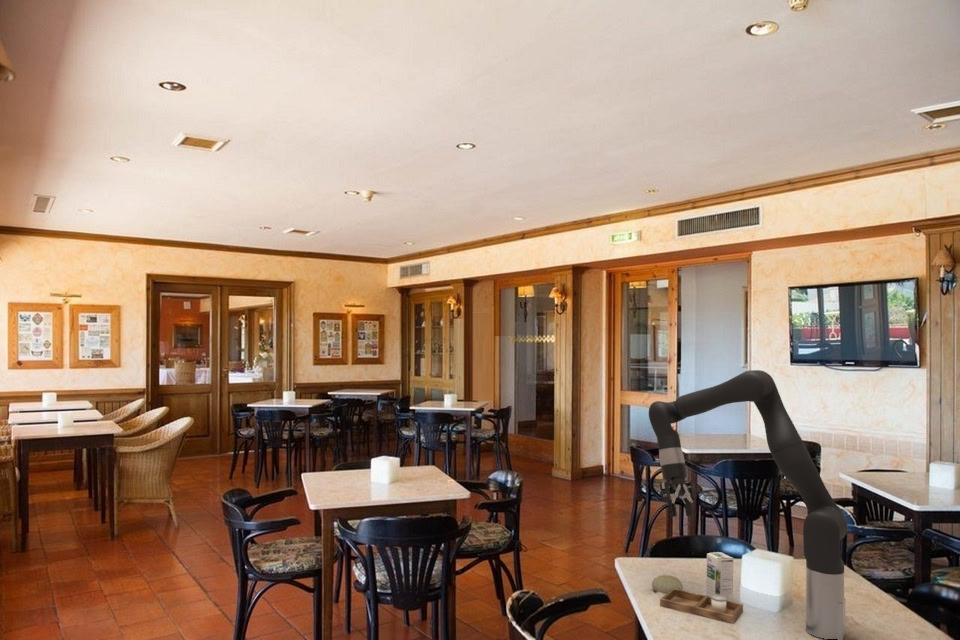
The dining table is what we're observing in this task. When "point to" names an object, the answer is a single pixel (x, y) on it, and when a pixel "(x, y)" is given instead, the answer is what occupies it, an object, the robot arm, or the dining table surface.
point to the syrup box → (719, 575)
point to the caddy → (699, 605)
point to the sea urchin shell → (666, 583)
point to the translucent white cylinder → (718, 603)
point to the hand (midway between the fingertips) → (681, 516)
